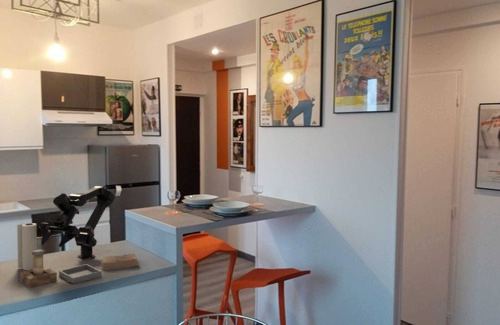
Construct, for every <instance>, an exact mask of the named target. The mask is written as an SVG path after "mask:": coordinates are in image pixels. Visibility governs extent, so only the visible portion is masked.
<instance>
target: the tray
mask: <svg viewBox="0 0 500 325" xmlns="http://www.w3.org/2000/svg"><path fill="white" fill-rule="evenodd" d="M58 276H59V277H60V278H61V277H62V278H61V279H63V280H65V281H67V282H68V281H69V282H68V283H70V284H72V285H75V284H79V283H83V282H85V281H89V280H93V279H97V278H101V277H102V270H100V269H99V268H96V267H94V266H92V265H89V264H88V263H86V264H81V265H77V266H72V267H68V268H65V269H62V270H58ZM82 281H83V282H82Z"/></svg>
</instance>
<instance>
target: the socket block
mask: <svg viewBox="0 0 500 325" xmlns="http://www.w3.org/2000/svg"><path fill="white" fill-rule="evenodd" d="M57 275H58V273H57V271H55V270H53V269H51V268H49V267H48V266H43V274H39V275H35V276H34V275H33V269H32V270H23V271H21V272H19V281H21V282H22V283H23V284H25V285H26V286H28V287H29V288H33V287H36V286H41V285H44V284H48V283H51V282H55V281H57V280H58V277H57Z"/></svg>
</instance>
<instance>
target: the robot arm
mask: <svg viewBox="0 0 500 325" xmlns="http://www.w3.org/2000/svg"><path fill="white" fill-rule="evenodd" d="M93 198H96V206H95V207H94V209H93V211H92V213H91V215H90V216H89V218H88V220H87V222H86V224H85V226H79V227H77V226H76V225H73V224H74V221H73V220H74V218H75V216H76V215H79V214H80V210H79V208H77V207H83V206H84V205H86V204H87V202H88V201H89V200H92V199H93ZM115 198H116V196H115V195H114V193H113V192H112V191H110V190H108V189H106V187H104V186H100V185H95V186H94V187H92V188H89V189H87V190H85V191H82V192H79V193H71V194H69V195H67V194H66V193H64V192H63V193H62V192H61V194H59V195H57V196H56V197H54V199H53V201H52V203H53V205H55V206H56V208H57V209H58V210H59V211H60V212H61V214H49V217H48V220H47V222H41V223H40V224H39V226H38V228H39V229H40V230H41V231H42V236H41V237H42V238H41V242H40V243H41V245H42V246H44V245H45V244H46V243H47V241H48V240H49V239H50V238H51V237H52V234H53V233H54V232H62V233H63V236H62V238H61V240H60V241H59V244H58V247H59V248H62V247H63V246H65V245H66V244H67V243H68V242H70V241H71V240H73V239H74V241H75V245H76V247H80V254H79V255H77V258H80V259H82V260H88V259H91V258H92V257H93V258H95V257H96V255H94V254H93V253H94V252H93V248H94V247H95V246H97V243H98V241H97V239H96V238H95V229H96V227H97V225H98V224H99V221H100V220H101V218H102V216H103V214H104V212H105V211H106V209H107V208H108V207H111V205H112V204H113V202H114V201H115ZM49 222H50V223H51V224H52V225H53V226H52V225H51V224H50V223H49Z"/></svg>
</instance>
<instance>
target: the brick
mask: <svg viewBox="0 0 500 325" xmlns="http://www.w3.org/2000/svg"><path fill="white" fill-rule="evenodd" d="M100 263H101V265H102V266H101V271H109V269H110V270H117V269H120V270H121V269H126V268H127V269H129V268H134V267H137V266H138V264H139V263H138V257H137V255H136V253H128V254H123V255H111V256H103V257H102V258H101V262H100Z"/></svg>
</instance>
